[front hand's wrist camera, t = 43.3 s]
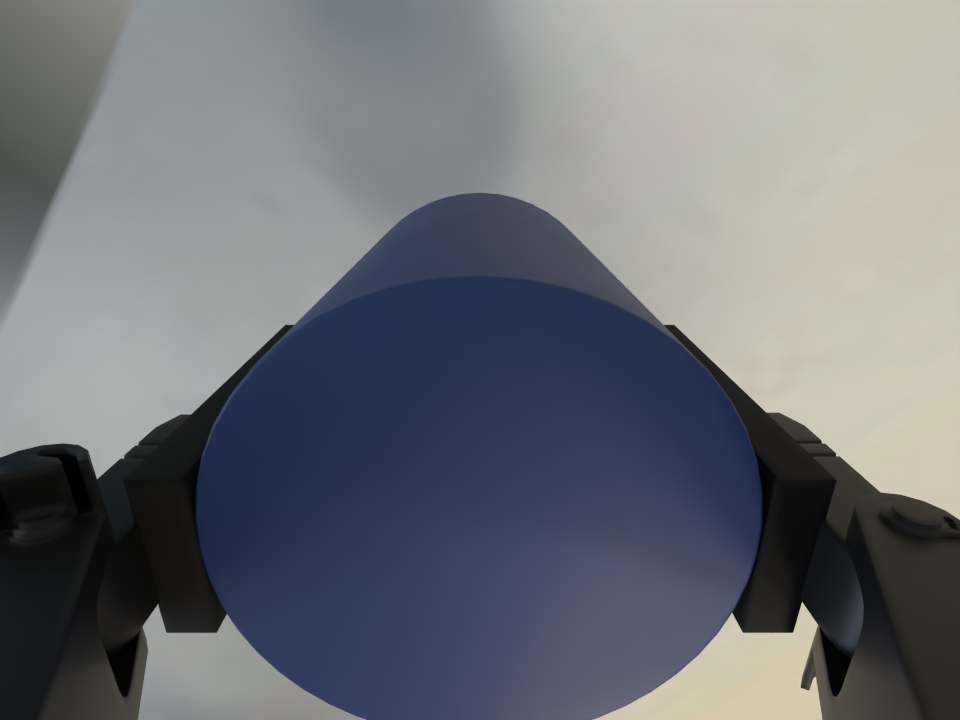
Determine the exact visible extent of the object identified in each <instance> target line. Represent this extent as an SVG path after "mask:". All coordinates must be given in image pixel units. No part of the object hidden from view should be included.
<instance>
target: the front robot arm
mask: <svg viewBox="0 0 960 720" xmlns="http://www.w3.org/2000/svg"><path fill="white" fill-rule="evenodd" d="M293 326H294V325H285V326H284V327H283V328H282V329H281V330H280V331H279V332H278V333H277V334H276V335H274V336H273V337H272V338H271V339H270V340H269V341H268V342H267V343H266V344H265V345H264V346H263V347H262V348H261V349H260V350H259V351H258V352H257V353H256V354H255V355H253V356H252V357H251V358H250V359H249V360H248V361H247V362H246V363H245V364H244V365H243V366H242V367H241V368H240V369H239V370H238V371H237V372H236V373H235V374H234V375H232V376H231V377H230V378H229V379H228V380H227V381H226V382H225V383H224V384H223V385H222V386H221V387H220V388H219V389H218V390H217V391H216V392H215V393H214V394H213V395H211V396H210V397H209V398H208V399H207V400H206V401H205V402H204V403H203V404H202V405H201V406H200V407H199V408H198V409H197V410H196V411H195V412H194V413H193V414H191V415H179V416H177V417H175V418H173V419H171V420H169V421H168V422H166V423H164V424H162V425H160V426H158V427H156V428H155V429H154V430H152V431H151V432H150V433H149V434H148V435H147V436H146V437H145V438H143V439H142V440H141V441H140V442H139V445H138V446H134V447H133V448H132V449H131V450H130V451H129V452H128V453H126V454H125V455H124V459H120V460H119V461H117V462H116V463H115V464H114V465H113V466H112V467H111V468H110V469H108V470H107V471H106V472H105V473H104V474H103V475H102V476H101V477H99V478H98V479H97V478H96V475H95V472H94V468H93V465H92V462H91V459H90V455H89V452H88V450H86V449H84V448H83V447H81V446H79V445H72V444H53V445H43V446H38V447H34V448H30V449H25V450H21V451H17V452H15V453H12V454H9V455H7V456H4V457H1V458H0V720H138V713H139V707H140V700H141V694H142V687H143V680H144V674H145V667H146V660H147V654H148V648H147V641H146V637H145V634H144V630H143V627H142V626H143V625H144V623H145V622H146V620H147V619H148V617H149V616H150V615H151V613H152V612H153V610H154V609H155V607H156V606H157V604H158V605H159V608H160V612H161V615H162V619H163V622H164V626H165V629H166V632H167V633H217V631H218V629H219V627H220V625H221V624H222V622H223V620H224V618H225V616H226V614H227V613H226V611H225V610H224V608H223V607H222V605H221V603H220V601H219V599H218V597H217V595H216V593H215V591H214V589H213V587H212V585H211V583H210V580H209V578H208V575H207V572H206V569H205V565H204V562H203V559H202V556H201V552H200V548H199V541H198V535H197V528H196V521H195V515H196V485H197V480H198V474H199V469H200V464H201V458H202V454H203V452H204V449H205V446H206V443H207V441H208V438H209V435H210V432H211V430H212V427H213V424H214V423H215V421H216V419H217V417H218V416H219V414H220V412H221V410H222V408H223V407H224V405H225V403H226V401H227V400H228V398H229V396H230V394H231V393H232V392H233V391H234V389H235V388H236V387H237V386H238V384H239V383H240V382H241V381H242V379H243V378H244V377H245V376H246V374H247V373H248V372H249V371H250V369H251V368H252V367H253V366H254V365H255V364H256V363H257V362H258V361H259V360H260V359H261V358H262V357H263V356H264V355H265V354H266V353H267V352H268V351H269V350H270V349H271V348H272V347H273V346H274V345H275V344H276V343H277V342H278V341H279V340H280V339H281V338H282V337H283V336H284V335H285V334H286V333H287V332H288V331H289V330H290V329H291V328H292V327H293ZM664 326H665V327H666V328H667V329H668V330H669V331H670V332H671V333H672V334H673V335H674V336H675V337H676V338H677V339H678V340H679V341H680V342H681V343H682V344H683V345H684V346H685V347H686V348H687V349H688V350H689V351H690V352H691V353H692V354H693V355H694V356H695V357H696V358H697V359H698V360H699V361H700V362H701V363H702V364H703V365H704V366H705V367H706V368H707V369H708V370H709V372H710V373H711V374H712V376H713V377H714V378H715V380H716V381H717V382H718V384H719V385H720V386H721V387H722V389H723V390H724V391H725V393H726V394H727V395H728V397H729V398H730V399H731V401H732V403H733V405H734V407H735V409H736V411H737V412H738V414H739V416H740V418H741V420H742V422H743V424H744V425H745V427H746V429H747V432H748V435H749V438H750V441H751V444H752V447H753V450H754V453H755V455H756V458H757V463H758V469H759V475H760V481H761V487H762V529H761V535H760V541H759V547H758V553H757V557H756V560H755V563H754V566H753V569H752V572H751V575H750V578H749V581H748V583H747V585H746V587H745V589H744V591H743V593H742V595H741V597H740V599H739V601H738V603H737V605H736V607H735V609H734V610H733V612H732V613H733V615H734V617H735V619H736V620H737V622H738V624H739V626H740V628H741V630H742V632H743V633H793V631H794V627H795V624H796V621H797V617H798V614H799V610H800V607H801V603H802V602H803V603H804V605H805V606H806V608H807V609H808V611H809V612H810V613H811V615H812V616H813V618H814V619H815V621H816V622H817V624H818V627H817V630H816V634H815V637H814V640H813V643H812V646H811V650H810V653H809V656H808V659H807V663H806V666H805V669H804V672H803V676H802V682H801V688H803V689H806V690H809V689H810V686H811V683H812V680H813V678H814V677H815V676H816V679H817V685H818V692H819V698H820V705H821V712H822V718H823V720H960V520H959V519H957V518H956V517H954V516H953V515H951V514H950V513H948V512H947V511H945V510H942V509H940V508H938V507H936V506H933V505H931V504H929V503H926V502H924V501H921V500H917V499H914V498H910V497H907V496H903V495H897V494H888V493H880V492H879V491H878V490H877V489H876V488H875V487H874V486H872V485H871V484H870V483H869V482H868V481H867V480H866V479H865V478H863V477H862V476H861V475H860V474H859V473H858V472H857V471H855V470H854V469H853V468H852V467H851V466H850V465H849V464H847V463H846V462H845V461H844V460H843V459H842V458H841V457H836V453H835V452H834V451H833V450H832V449H830V448H829V447H828V446H827V445H826V444H822V443H821V440H820V439H819V438H818V437H817V436H816V435H814V434H813V433H812V432H811V431H810V430H809V429H808V428H807V427H805V426H804V425H802V424H800V423H798V422H796V421H794V420H792V419H790V418H788V417H787V416H785V415H783V414H781V413H766V412H765V411H764V410H763V409H762V408H761V407H760V406H759V405H758V404H757V403H755V402H754V401H753V400H752V399H751V398H750V397H749V396H748V395H747V394H746V393H745V392H744V391H743V390H742V389H741V388H740V387H739V386H738V385H737V384H736V383H734V382H733V381H732V380H731V379H730V378H729V377H728V376H727V375H726V374H725V373H724V372H723V371H722V370H721V369H720V368H719V367H718V366H717V365H716V364H715V363H713V362H712V361H711V360H710V359H709V358H708V357H707V356H706V355H705V354H704V353H703V352H702V351H701V350H700V349H699V348H698V347H697V346H696V345H695V344H694V343H692V342H691V341H690V340H689V339H688V338H687V337H686V336H685V335H684V334H683V333H682V332H681V331H680V330H679V329H678V328H677V327H676V326H675V325H664Z"/></svg>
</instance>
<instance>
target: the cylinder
mask: <svg viewBox="0 0 960 720" xmlns="http://www.w3.org/2000/svg"><path fill="white" fill-rule="evenodd" d="M195 521H196V528H197V535H198V541H199V548H200V552H201V556H202V559H203V562H204V565H205V569H206V572H207V575H208V578H209V580H210V583H211V585H212V587H213V589H214V591H215V593H216V595H217V597H218V599H219V601H220V603H221V605H222V607H223V608H224V610H225V611H226V613H227V614H228V616H229V617H230V619H231V620H232V622H233V623H234V625H235V626H236V628H237V629H238V631H239V632H240V633H241V634H242V635H243V636H244V638H245V639H246V640H247V641H248V642H249V643H250V644H251V646H252V647H253V648H254V649H255V650H256V651H257V652H258V653H259V654H260V655H261V656H262V657H263V658H264V659H265V660H266V661H268V662H269V663H270V664H271V665H272V666H273V667H274V668H275V669H276V670H278V671H279V672H280V673H281V674H283V675H284V676H285V677H287V678H288V679H290V680H291V681H292V682H294V683H295V684H297V685H298V686H299V687H301V688H302V689H304V690H305V691H307V692H309V693H311V694H312V695H314V696H316V697H318V698H319V699H321V700H323V701H325V702H327V703H328V704H330V705H332V706H335V707H337V708H339V709H341V710H344V711H346V712H348V713H351V714H353V715H355V716H357V717H360V718H363V719H366V720H592V719H596V718H598V717H601V716H603V715H605V714H608V713H610V712H612V711H615V710H617V709H619V708H622V707H624V706H626V705H628V704H630V703H632V702H633V701H635V700H637V699H639V698H641V697H642V696H644V695H646V694H648V693H650V692H652V691H653V690H654V689H656V688H657V687H659V686H660V685H662V684H663V683H664V682H666V681H667V680H669V679H670V678H672V677H673V676H675V675H676V674H677V673H678V672H679V671H681V670H682V669H683V668H684V667H685V666H686V665H687V664H688V663H690V662H691V661H692V660H693V659H694V658H695V657H696V656H698V655H699V654H700V652H701V651H702V650H703V649H704V648H705V647H706V646H707V645H708V644H709V642H710V641H711V640H712V639H713V638H714V637H715V636H716V635H717V633H718V632H719V631H720V629H721V628H722V626H723V625H724V624H725V622H726V621H727V619H728V618H729V616H730V615H731V613H732V612H733V610H734V609H735V607H736V605H737V603H738V601H739V599H740V597H741V595H742V593H743V591H744V589H745V587H746V585H747V583H748V581H749V578H750V575H751V572H752V569H753V566H754V563H755V560H756V557H757V553H758V547H759V541H760V535H761V529H762V487H761V481H760V475H759V469H758V463H757V458H756V455H755V453H754V450H753V447H752V444H751V441H750V438H749V435H748V432H747V429H746V427H745V425H744V424H743V422H742V420H741V418H740V416H739V414H738V412H737V411H736V409H735V407H734V405H733V403H732V401H731V399H730V398H729V397H728V395H727V394H726V393H725V391H724V390H723V389H722V387H721V386H720V385H719V384H718V382H717V381H716V380H715V378H714V377H713V376H712V374H711V373H710V372H709V370H708V369H707V368H706V367H705V366H704V365H703V364H702V363H701V362H700V361H699V360H698V359H697V358H696V357H695V356H694V355H693V354H692V353H691V352H690V351H689V350H688V349H687V348H686V347H685V346H684V345H683V344H682V343H681V342H680V341H679V340H678V339H677V338H676V337H675V336H674V335H673V334H672V333H671V332H670V331H669V330H668V329H667V328H666V327H665V326H664V325H663V324H662V323H661V322H660V321H659V320H658V319H657V318H656V317H655V316H654V315H653V314H652V313H651V312H650V311H649V310H648V309H647V308H646V307H645V306H644V305H643V304H642V303H641V302H640V301H639V300H638V299H637V298H636V297H635V296H634V295H633V294H632V293H631V292H630V291H629V290H628V289H627V288H626V287H625V286H624V285H623V284H622V283H621V282H620V281H619V280H618V279H617V278H616V277H615V276H614V275H613V274H612V273H611V272H610V271H609V270H608V269H607V268H606V267H605V266H604V265H603V264H602V263H601V262H600V261H599V260H598V259H597V258H596V257H595V256H594V255H593V254H592V253H591V252H590V251H589V250H588V249H587V248H586V247H585V246H584V245H583V244H582V243H581V242H580V241H579V240H578V239H577V238H576V237H575V236H574V235H573V234H572V233H571V232H570V231H569V230H568V229H567V228H566V227H565V226H564V225H563V224H562V223H561V222H560V221H558V220H557V219H556V218H554V217H553V216H551V215H550V214H549V213H547V212H546V211H544V210H542V209H540V208H538V207H536V206H534V205H532V204H530V203H527V202H525V201H522V200H519V199H516V198H513V197H508V196H503V195H499V194H487V193H472V194H461V195H456V196H451V197H446V198H443V199H440V200H437V201H434V202H431V203H429V204H427V205H425V206H423V207H421V208H419V209H417V210H415V211H414V212H412V213H411V214H409V215H408V216H406V217H405V218H403V219H402V220H401V221H399V222H398V223H397V224H396V225H395V226H394V227H393V228H392V229H391V230H390V231H389V232H388V233H387V234H386V235H385V236H384V237H383V238H382V239H381V240H380V241H379V242H378V243H377V244H376V245H375V246H374V247H373V248H372V249H371V250H370V251H369V252H368V253H366V254H365V255H364V256H363V257H362V258H361V259H360V260H359V261H358V262H357V263H356V264H355V265H354V266H353V267H352V268H351V269H350V270H349V271H348V272H347V273H346V274H345V275H344V276H343V277H342V278H341V279H340V280H339V281H338V282H337V283H336V284H335V285H334V286H333V287H332V288H331V289H330V290H329V291H328V292H327V293H326V294H325V295H324V296H323V297H322V298H321V299H320V300H319V301H318V302H317V303H316V304H315V305H314V306H313V307H312V308H311V309H310V310H309V311H308V312H307V313H306V314H305V315H304V316H303V317H302V318H301V319H300V320H299V321H298V322H297V323H296V324H295V325H294V326H293V327H292V328H291V329H290V330H289V331H288V332H287V333H286V334H285V335H284V336H283V337H282V338H281V339H280V340H279V341H278V342H277V343H276V344H275V345H274V346H273V347H272V348H271V349H270V350H269V351H268V352H267V353H266V354H265V355H264V356H263V357H262V358H261V359H260V360H259V361H258V362H257V363H256V364H255V365H254V366H253V367H252V368H251V369H250V371H249V372H248V373H247V374H246V376H245V377H244V378H243V379H242V381H241V382H240V383H239V384H238V386H237V387H236V388H235V389H234V391H233V392H232V393H231V394H230V396H229V398H228V400H227V401H226V403H225V405H224V407H223V408H222V410H221V412H220V414H219V416H218V417H217V419H216V421H215V423H214V424H213V427H212V430H211V432H210V435H209V438H208V441H207V443H206V446H205V449H204V452H203V454H202V458H201V464H200V469H199V474H198V480H197V485H196V515H195Z"/></svg>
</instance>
